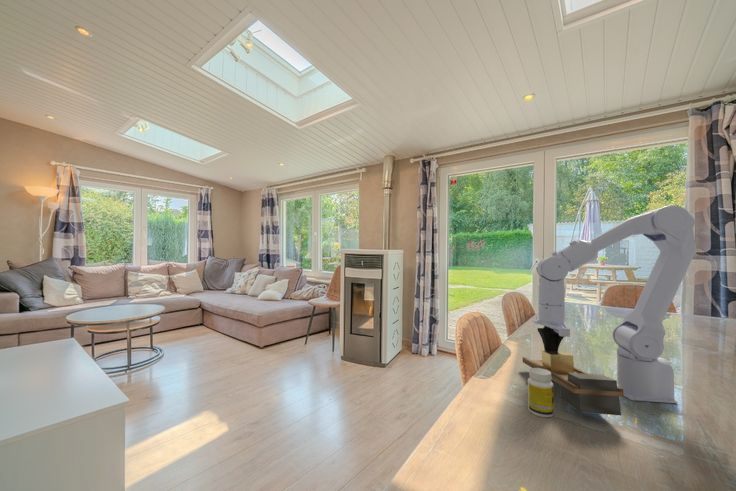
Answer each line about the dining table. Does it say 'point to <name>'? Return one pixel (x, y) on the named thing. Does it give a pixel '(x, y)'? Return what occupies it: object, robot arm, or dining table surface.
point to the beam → (586, 390)
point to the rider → (558, 361)
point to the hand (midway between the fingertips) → (551, 357)
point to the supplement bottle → (540, 393)
